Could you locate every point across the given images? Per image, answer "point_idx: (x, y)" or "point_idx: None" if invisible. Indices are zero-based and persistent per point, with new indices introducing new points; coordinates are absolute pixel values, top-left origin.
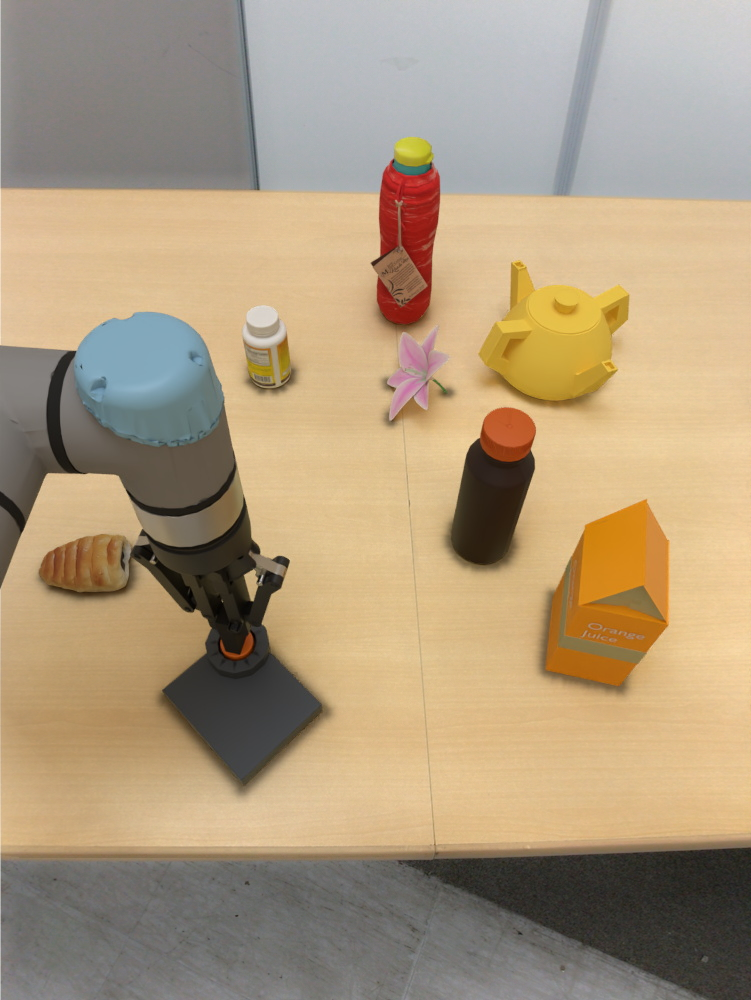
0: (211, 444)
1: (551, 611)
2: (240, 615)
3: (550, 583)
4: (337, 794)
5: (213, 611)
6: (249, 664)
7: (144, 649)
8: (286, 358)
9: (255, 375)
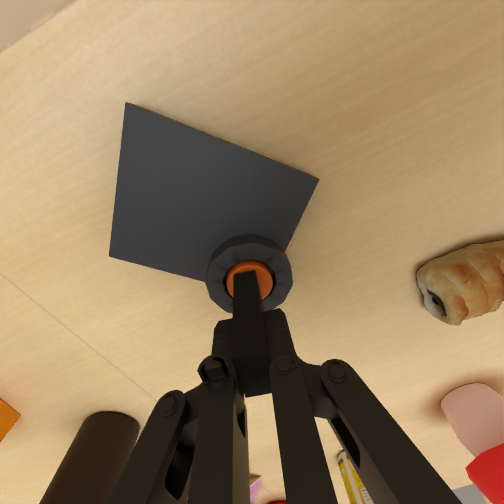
0: None
1: (9, 407)
2: (198, 430)
3: (32, 421)
4: (20, 158)
5: (273, 398)
6: (216, 266)
7: (365, 217)
8: (347, 492)
9: None
